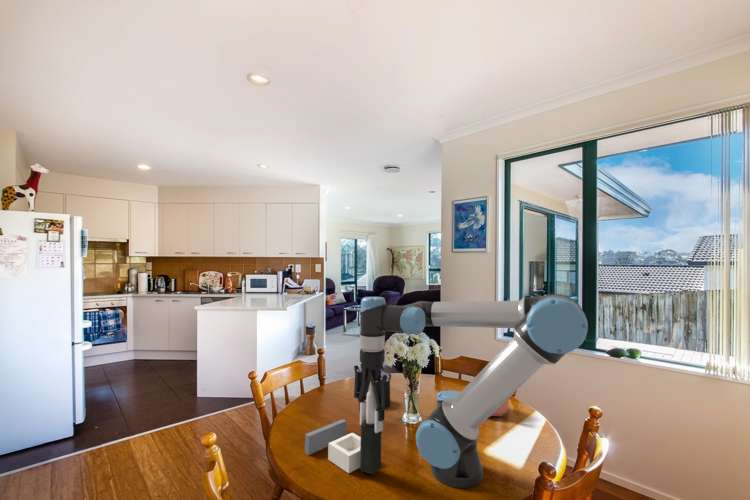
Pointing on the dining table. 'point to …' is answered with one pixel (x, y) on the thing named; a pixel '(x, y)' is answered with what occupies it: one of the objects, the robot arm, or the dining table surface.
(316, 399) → the dining table surface
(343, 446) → the socket block
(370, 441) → the candle
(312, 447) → the backstop wall
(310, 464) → the dining table surface
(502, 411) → the teapot
